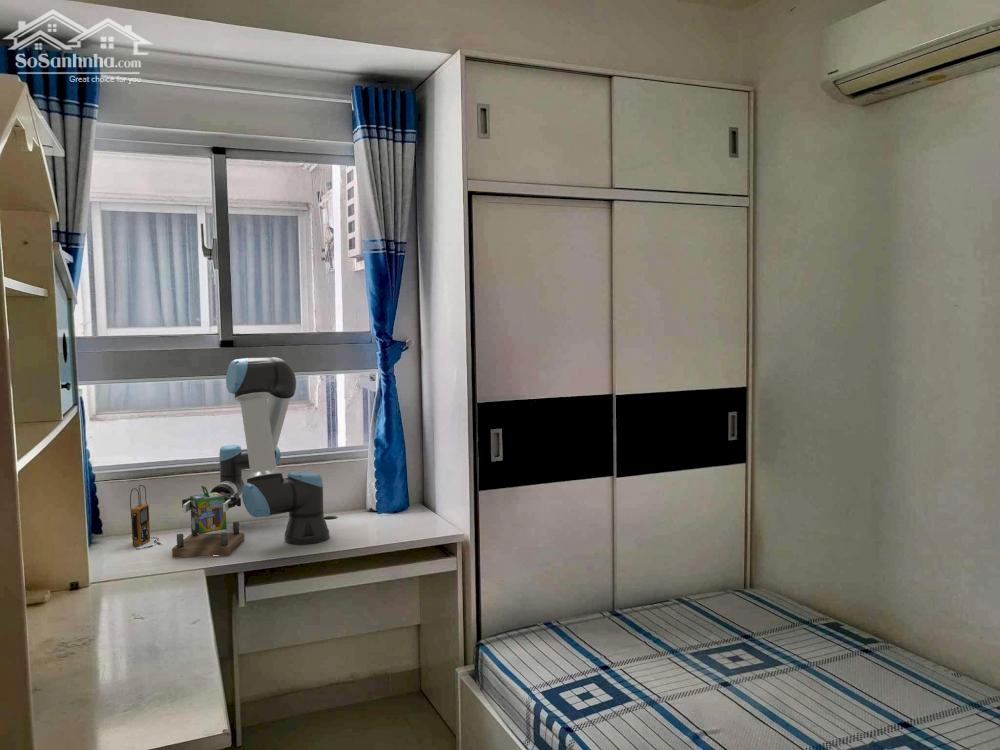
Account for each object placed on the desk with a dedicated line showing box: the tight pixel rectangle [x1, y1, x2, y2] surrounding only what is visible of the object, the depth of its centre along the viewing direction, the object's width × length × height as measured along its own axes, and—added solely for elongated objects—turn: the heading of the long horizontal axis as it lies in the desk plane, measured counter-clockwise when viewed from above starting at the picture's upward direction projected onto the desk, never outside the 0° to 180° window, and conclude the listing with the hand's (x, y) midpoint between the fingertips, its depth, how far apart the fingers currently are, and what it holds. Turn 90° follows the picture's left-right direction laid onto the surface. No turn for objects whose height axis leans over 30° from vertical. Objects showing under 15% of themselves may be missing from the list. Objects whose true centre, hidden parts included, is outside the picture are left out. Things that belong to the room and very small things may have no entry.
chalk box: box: [189, 484, 228, 534], centre depth 258 cm, size 9×9×15 cm
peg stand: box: [171, 521, 245, 558], centre depth 259 cm, size 18×18×7 cm
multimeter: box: [129, 484, 163, 550], centre depth 266 cm, size 15×10×20 cm
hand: (204, 508), depth 254 cm, fingers closed on chalk box, 12 cm apart
